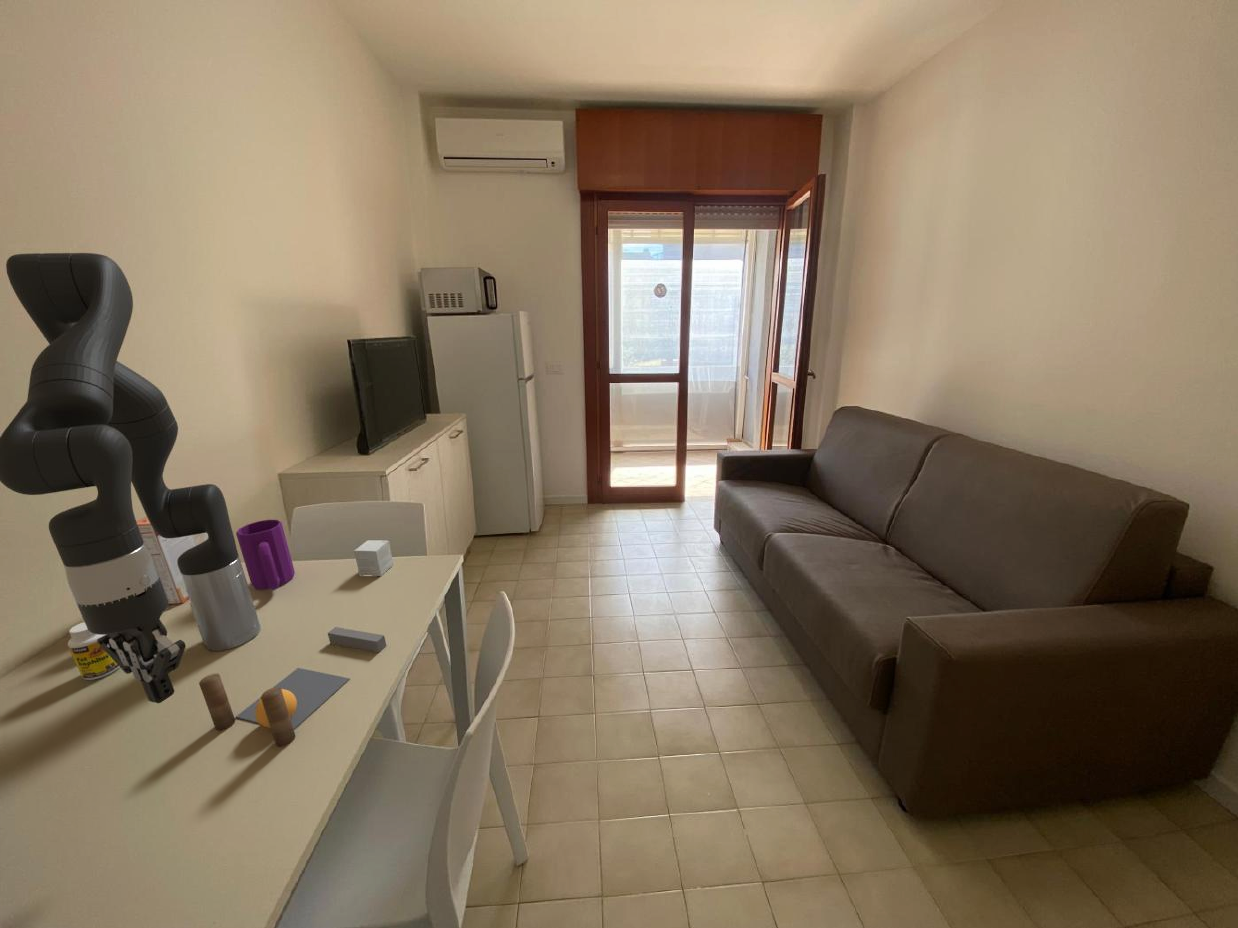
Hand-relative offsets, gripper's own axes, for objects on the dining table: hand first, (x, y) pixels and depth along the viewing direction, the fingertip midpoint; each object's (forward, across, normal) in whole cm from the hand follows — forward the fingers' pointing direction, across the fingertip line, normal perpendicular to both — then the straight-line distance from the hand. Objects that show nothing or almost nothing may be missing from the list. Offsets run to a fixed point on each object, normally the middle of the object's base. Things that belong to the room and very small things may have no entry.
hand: (162, 697), depth 67 cm
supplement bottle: (+15, -43, +13) cm, 47 cm away
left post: (+15, -6, +9) cm, 19 cm away
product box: (+15, -18, +57) cm, 62 cm away
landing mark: (+15, 0, +16) cm, 22 cm away
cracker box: (+15, -58, +39) cm, 72 cm away
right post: (+15, +6, +9) cm, 19 cm away
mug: (+15, -38, +45) cm, 61 cm away
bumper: (+15, 0, +31) cm, 34 cm away
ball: (+12, +2, +12) cm, 17 cm away
